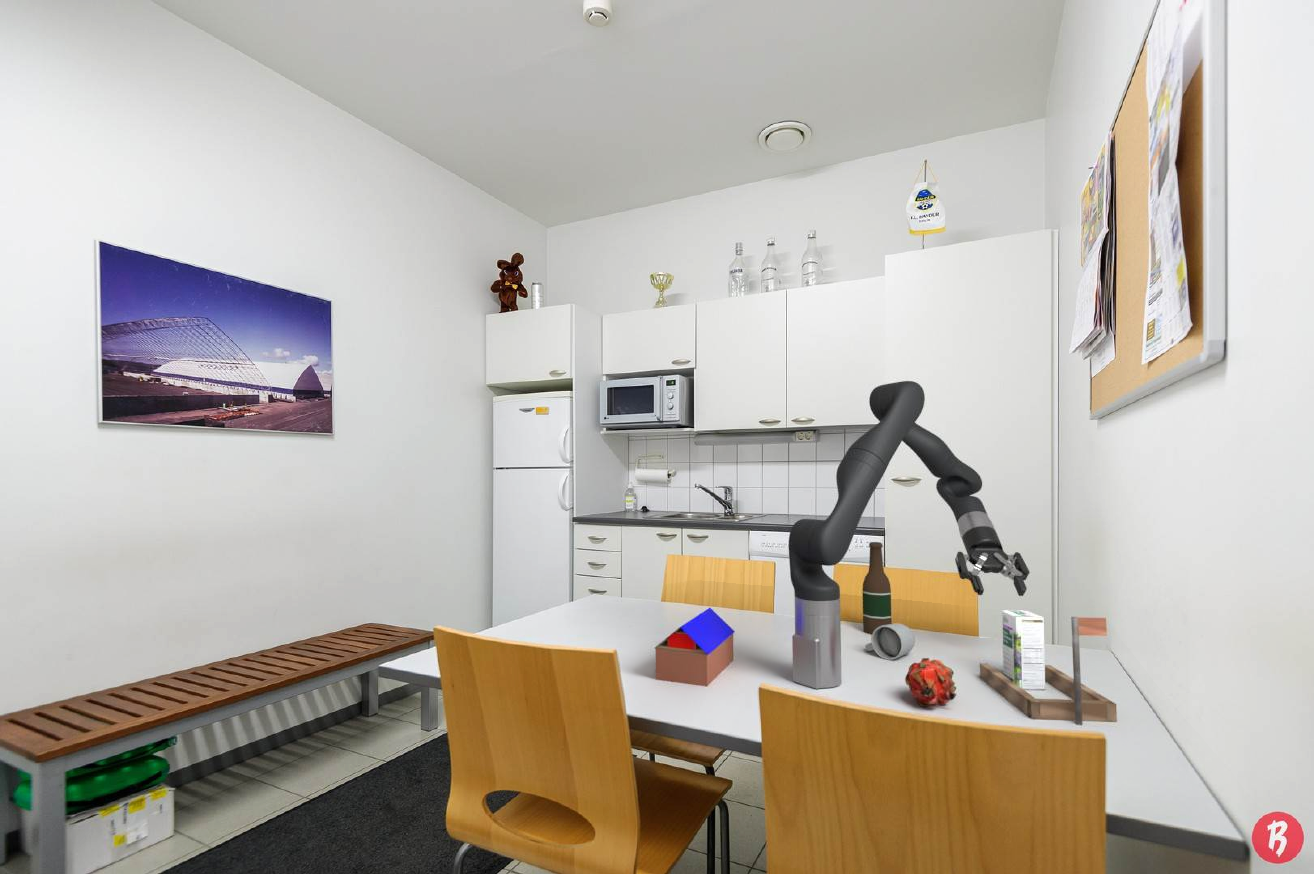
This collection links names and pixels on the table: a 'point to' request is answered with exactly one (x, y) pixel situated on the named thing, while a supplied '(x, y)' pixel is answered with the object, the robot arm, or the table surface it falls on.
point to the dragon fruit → (931, 682)
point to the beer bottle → (876, 592)
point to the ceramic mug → (891, 641)
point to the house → (696, 651)
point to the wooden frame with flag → (1060, 685)
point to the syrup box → (1023, 649)
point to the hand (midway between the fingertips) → (1001, 593)
